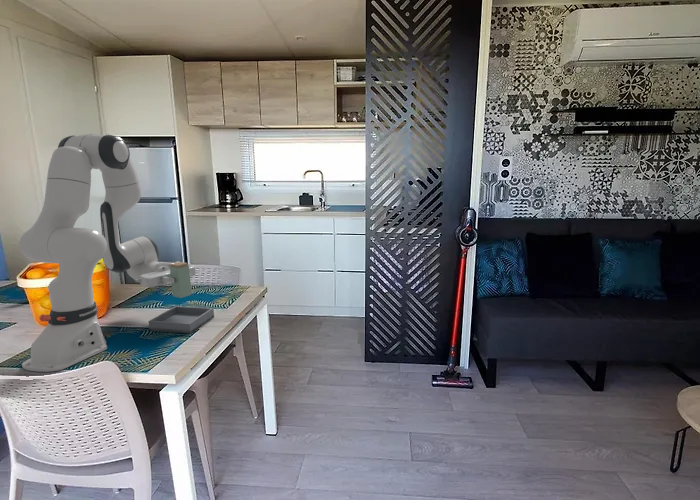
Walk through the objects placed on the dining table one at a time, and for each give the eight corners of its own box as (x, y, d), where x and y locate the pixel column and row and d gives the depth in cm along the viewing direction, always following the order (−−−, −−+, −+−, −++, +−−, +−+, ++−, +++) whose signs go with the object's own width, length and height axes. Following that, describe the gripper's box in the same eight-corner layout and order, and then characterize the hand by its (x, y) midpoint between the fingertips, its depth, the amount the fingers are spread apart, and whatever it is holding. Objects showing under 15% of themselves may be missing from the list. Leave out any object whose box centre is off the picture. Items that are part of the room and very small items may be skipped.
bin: (190, 333, 139) (189, 324, 138) (149, 330, 141) (148, 321, 141) (214, 316, 154) (213, 308, 153) (176, 314, 157) (175, 305, 156)
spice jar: (180, 298, 144) (177, 265, 142) (172, 296, 147) (169, 264, 144) (191, 294, 148) (188, 263, 146) (183, 292, 150) (180, 261, 148)
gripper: (131, 271, 143) (154, 276, 136) (181, 260, 160) (204, 264, 153) (133, 288, 145) (156, 294, 138) (182, 275, 162) (205, 280, 155)
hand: (182, 278), depth 146 cm, fingers closed on spice jar, 5 cm apart
